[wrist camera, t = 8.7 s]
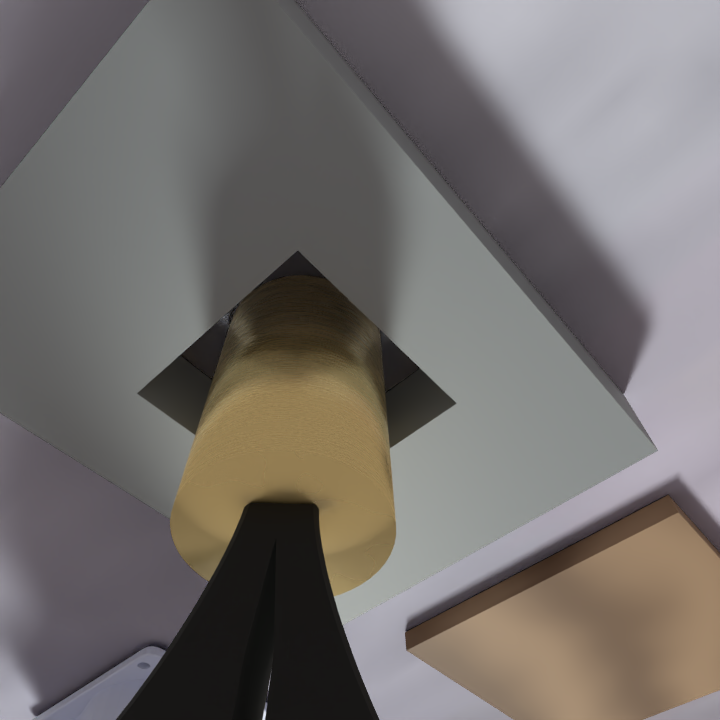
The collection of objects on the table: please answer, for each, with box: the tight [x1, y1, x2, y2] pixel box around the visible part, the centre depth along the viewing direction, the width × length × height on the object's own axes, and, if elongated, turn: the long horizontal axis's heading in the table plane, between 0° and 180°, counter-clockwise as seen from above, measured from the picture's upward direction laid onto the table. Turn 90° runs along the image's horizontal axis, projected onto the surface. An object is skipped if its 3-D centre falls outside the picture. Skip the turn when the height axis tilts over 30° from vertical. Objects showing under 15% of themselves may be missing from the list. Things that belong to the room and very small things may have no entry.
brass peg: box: [170, 275, 396, 596], centre depth 15 cm, size 4×4×7 cm
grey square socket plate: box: [0, 0, 658, 625], centre depth 17 cm, size 12×16×2 cm
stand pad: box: [405, 495, 720, 720], centre depth 26 cm, size 12×12×1 cm
